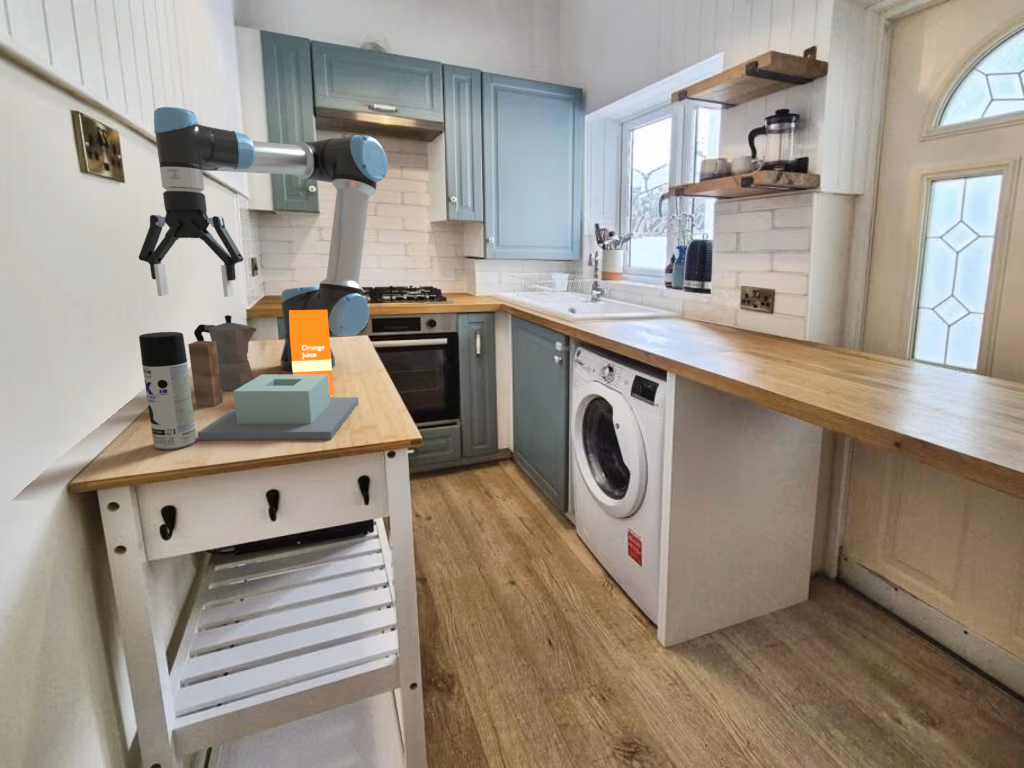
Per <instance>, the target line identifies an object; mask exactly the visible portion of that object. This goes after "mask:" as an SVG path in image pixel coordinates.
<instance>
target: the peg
mask: <svg viewBox="0 0 1024 768" xmlns="http://www.w3.org/2000/svg"><path fill="white" fill-rule="evenodd" d="M188 352H189V360H190V366H191V367H190V368H191V375H192V382H193V383H192V384H193V385H192V386H193V391H194V398H195V399H194V401H195V406H210V407H211V406H215V407H216V406H219V405H220V404H221V403H224V399H223V391H222V389H221V381H220V372H219V363H218V355H217V346H216V341H212V340H204V341H197V340H196V341H193V342H190V343H188ZM210 407H209V408H210Z"/></svg>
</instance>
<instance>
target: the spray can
mask: <svg viewBox="0 0 1024 768" xmlns="http://www.w3.org/2000/svg"><path fill="white" fill-rule="evenodd" d="M138 338H139V348H140V356H141V365H142V371H143V378H144V379H143V380H144V384H145V392H146V399H147V407H148V408H147V409H148V414H149V419H150V420H149V421H150V428H151V434H152V441H153V446H154V447H155V449H157V450H160V451H173V450H180V449H185V448H187V447H190V446H192V445H194V444H195V443H196V441H197V433H196V426H195V425H196V424H195V417H194V416H195V415H194V409H193V408H194V407H193V401H192V400H193V399H192V393H191V392H192V391H191V384H190V376H189V369H188V358H187V351H186V345H185V338H184V334H183V333H182V332H178V331H159V332H150V333H142V334H140V335H139V337H138Z"/></svg>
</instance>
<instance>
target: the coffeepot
mask: <svg viewBox="0 0 1024 768" xmlns="http://www.w3.org/2000/svg"><path fill="white" fill-rule="evenodd" d="M232 318H233V317H232V315H229V314H227V315H225V316H224V320H225V323H221V324H217V325H214V324H202V323H201V324H198V326H197V327H196V328H195V329H194V332H193V333H194V336H195V338H196V341H205V338H204V336H203V333H207V334H209V336H210V341H216V346H217V355H218V363H219V372H220V381H221V389H222V392H234V391H235V390H236V389H238V388H240V387H241V386H243V385H245V384H246V383H248V382H250V381H251V380H253V379H255V378H254V375H253V371H252V369H251V365H250V362H249V360H248V354H249V343H250V340H251V338H252V337H253V335H254V333H255V332H256V331H257V329H256V328H255V327H252V326H250V325H247V324H241V323H236V322H232Z"/></svg>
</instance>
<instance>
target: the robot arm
mask: <svg viewBox="0 0 1024 768" xmlns="http://www.w3.org/2000/svg"><path fill="white" fill-rule="evenodd" d="M153 125H154V126H153V127H154V131H153V132H154V135H155V141H156V148H157V149H156V150H157V155H158V164H159V173H160V179H161V187H162V188H163V189H165V191H164V192H162V196H163V205H164V209H165V216H161V215H158V214H150V216H149V226H148V227H149V228H148V230H147V233H146V236H145V239H144V241H143V244H142V247H141V250H140V252H139V255H138V260H139V261H143V262H146V263H148V264H149V267H150V273H151V274H150V275H151V279H152V280H155V282H156V283H155V284H156V291H157V296H158V297H164V296H169V295H170V294H169V286H168V279H167V272H166V264H165V263H163V262H162V261H163V259H164V258H165V257H166V255H167V254H168V253H169V251H170V249H171V248H172V247H173V246H174V245H175V243H176V242H177V241H178V240H179V239H189V238H190V239H200V240H201V241H203V242H204V244H205V245H207V246H208V247H209V249H210V250H211V251H212V252H213V253H214V254H215V255H216V256H217V257H218V258H219V259H220V260H221V262H223V264H222V265H220V269H221V270H220V271H221V278H222V288H223V296H224V298H225V297H227V298H228V297H233V296H234V290H233V281H235V280H236V267H235V266H236V264H238V263H241V262H243V261H244V257H243V255H242V254H241V252H240V250H239V248H238V246H237V245H236V243H235V242H234V239H232V236H231V235H230V233H229V231H228V230H227V228H226V223H225V220H224V217H222V216H219V215H218V216H217V215H216V216H215V215H213V216H212V217H209V216H208V213H207V201H206V194H204V193H202V192H203V191H205V184H204V175H203V171H205V172H206V171H208V172H209V171H210V172H229V173H230V172H233V173H253V174H274V175H289V176H290V175H292V176H293V175H294V176H295V177H297V178H298V179H300V180H312V181H318V182H325V183H331V184H332V185H333V187H334V188H335V189H336V194H335V201H334V202H335V203H334V204H335V205H334V210H333V211H334V212H333V220H332V226H331V227H332V228H331V236H330V244H329V252H328V253H329V254H328V261H327V271H326V277H325V278H324V279H323V280H321V281H320V282H319V285H315V286H314V285H311V286H303V287H302V286H301V287H293V288H285V289H284V290H282V292H281V303H280V304H281V305H280V306H281V313H282V323H283V334H284V344H283V348H282V352H281V357H280V361H279V362H280V369H281V370H284V371H290V372H293V369H292V355H291V343H290V322H289V310H327V312H328V327H329V335H334V336H337V337H338V336H339V337H345V336H346V337H351V336H352V337H353V336H355V335H357V334H359V333H361V331H362V330H364V329H365V327H366V326H367V323H368V322H369V319H370V312H371V310H370V305H369V304H368V303H369V302H368V300H367V298H366V297H365V296H364V289H363V287H362V286H361V285H360V275H361V274H360V273H361V267H362V266H361V265H362V258H363V249H364V243H365V242H364V241H365V240H364V239H365V233H366V228H367V227H366V226H367V217H368V209H369V200H370V197H372V196H373V195H375V193H376V192H377V191H376V190H377V184H378V182H380V181H382V180H383V179H384V178H385V177H386V176H387V173H388V169H389V168H388V167H389V166H388V165H389V164H388V159H387V154H386V152H385V150H384V147H383V146H382V145H381V143H380V142H379V141H378V140H377V139H375V138H374V137H372V136H370V135H360V134H356V135H353V136H345V137H336V138H327V139H322V140H321V139H320V140H315V141H296V142H294V143H293V144H291V143H289V144H288V143H286V144H285V143H278V142H269V141H268V142H267V141H258V140H256V141H255V140H252V139H251V138H250V137H249V136H248V135H246V134H244V133H240V132H237V131H235V130H228V129H221V128H217V127H212V126H205V125H202V124H200V123H199V121H198V118H197V114H196V113H195V112H193V111H191V110H189V109H186V108H181V107H174V106H173V107H171V106H163V107H162V106H161V107H157V108H156V109H155V110H154V113H153ZM165 225H167V226H168V230H167V231H166V233H165V235H164V237H163V239H162V240H161V241H160V243H159V244H158V246H157V243H158V241H159V240H160V236H161V233H162V230H163V228H164V226H165ZM209 225H211V227H212V228H214V230H215V233H216V234H217V236H218V237H219V238H220V241H221V242H222V244H223V246H224V247H225V248H226V250H225V249H224V248H223V246H222V245H221V244H220V243H219V242H218V241H217V239H215V238H214V236H213V235H212V233H210V232H209V230H208V227H209ZM156 246H157V247H156ZM330 353H331V365H332V368H333V367H335V366H336V357H335V355H334V353H333V349H332V348H331V346H330ZM334 365H335V366H334Z"/></svg>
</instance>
